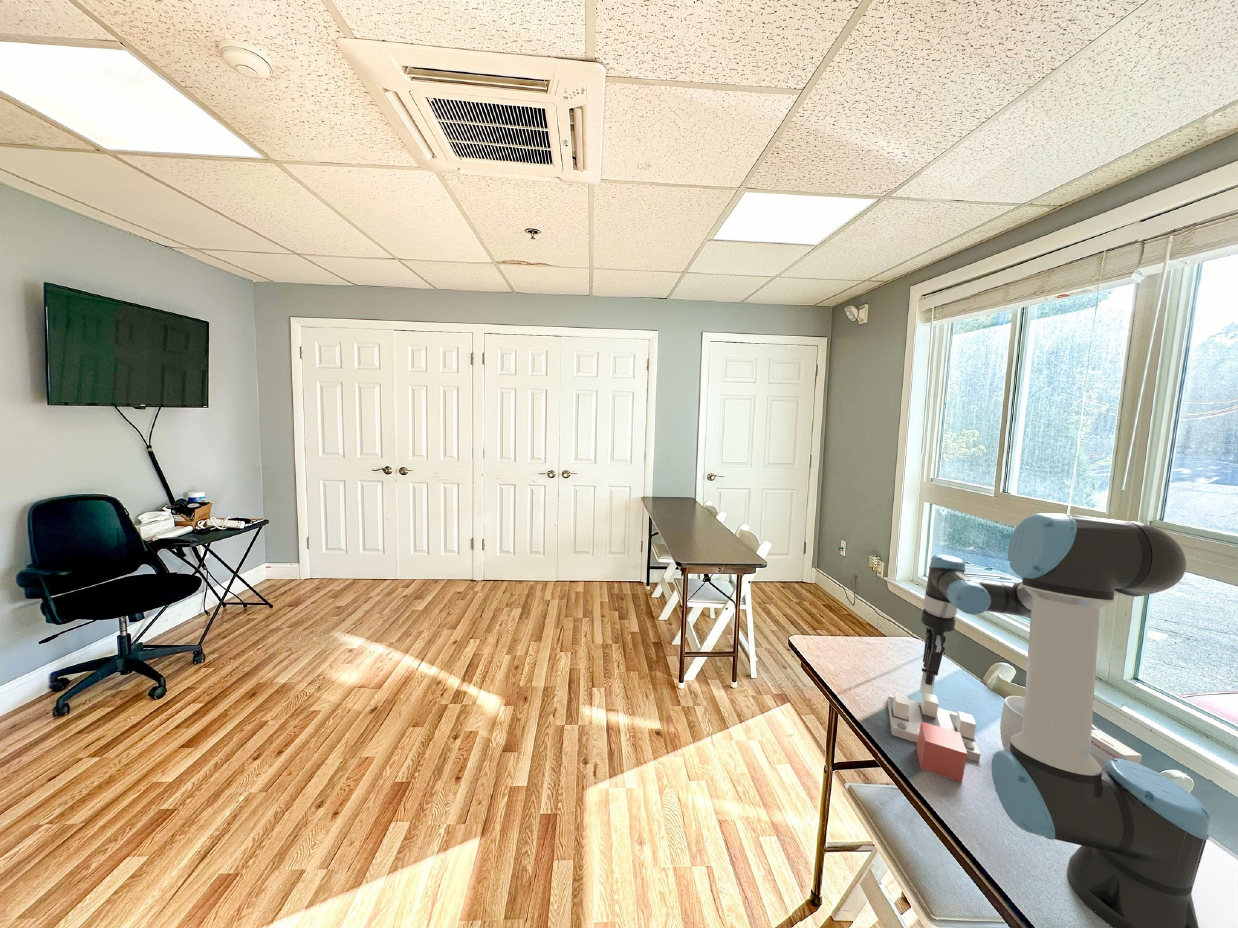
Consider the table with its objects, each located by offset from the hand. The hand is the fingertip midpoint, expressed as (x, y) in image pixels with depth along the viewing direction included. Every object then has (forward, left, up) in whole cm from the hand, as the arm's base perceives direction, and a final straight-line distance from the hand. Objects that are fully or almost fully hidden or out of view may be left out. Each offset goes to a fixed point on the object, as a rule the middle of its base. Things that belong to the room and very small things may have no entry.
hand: (925, 692), depth 132 cm
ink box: (-15, -32, -4) cm, 35 cm away
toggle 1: (-12, +7, -2) cm, 14 cm away
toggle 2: (-7, 0, -2) cm, 7 cm away
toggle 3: (-12, -7, -2) cm, 14 cm away
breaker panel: (-11, 0, -4) cm, 11 cm away
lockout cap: (-25, 0, -4) cm, 25 cm away
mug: (-13, -20, -4) cm, 24 cm away
